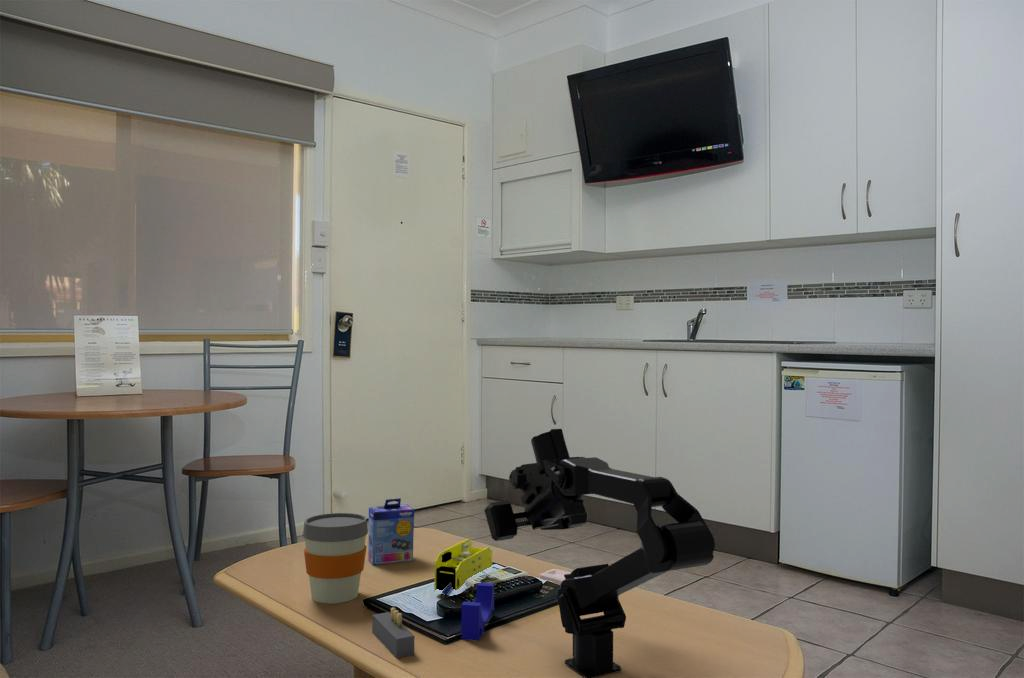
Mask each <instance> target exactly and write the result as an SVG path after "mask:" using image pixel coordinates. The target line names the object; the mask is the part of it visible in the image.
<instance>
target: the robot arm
mask: <svg viewBox="0 0 1024 678" xmlns="http://www.w3.org/2000/svg"><path fill="white" fill-rule="evenodd" d="M530 443H531V447H532V450H533V454H534V458H535V461H536V462H532V463H531V462H530V463H526V464H525V463H523V464H520V465H519V466H516V467H515V469H511V472H510V473H509V477H508V480H509V483H510V485H511V487H512V489H514V490H517V489H519V490H520V491H522V492H521V493H523V495H521V496H520V499H521V503H522V504H523V505H525V506H524V511H520V512H514V511H513V510H514V509H513V506H512V504H511V502H510V501H509V500H502V501H501V500H500V501H494V502H493V501H492V502H490V503H489V504H487V505H486V507H485V508H484V513H485V514H484V515H485V517H486V521H487V526H488V528H489V529H488V530H489V532H490V536H491V539H492V540H494V541H495V542H498V541H505V540H511V539H514V538H515V537H516V536H517V535H518V528H522V527H529V526H531V527H532V530H533V531H535V530H541V531H551V530H554V531H555V530H567V529H574V528H578V527H582V526H584V525H585V524H587V522H588V520H589V519H588V518H589V513H588V511H587V507H586V504H585V500H584V499H583V496H586V495H596V496H599V497H604V498H608V499H612V500H616V501H620V502H624V503H627V504H631V505H633V506H634V508H635V510H636V513H637V516H636V519H637V520H636V533H637V535H638V537H639V540H640V544H641V545H640V547H639V548H638V549H637V550H635V551H633V552H631V553H630V554H627V555H626V556H624V557H622V558H620V559H619V560H617V561H615V562H614V563H611V564H609V563H604V564H597V565H590V566H582V567H577V568H575V569H573V570H572V571H571V572H570V573H571V574H565V575H564V577H565V580H563V581H562V583H561V585H560V587H561V588H560V589H559V588H558V592H557V603H558V607H559V613H560V620H561V625H562V627H563V628H564V633H566V634H569V635H572V658H567V659H565V660H564V664H565V665H566V666H567V667H569V668H570V669H572V670H573V671H575V672H576V673H577V674H579V675H581V676H582V677H584V678H598V677H601V676H605V675H610V674H613V673H618V672H621V671H622V667H621V665H619V664H617V663H616V662H614V631H613V630H615V629H624V628H625V624H626V620H627V615H626V613H625V610H624V608H623V606H622V604H621V601H620V599H619V596H620V595H623V594H624V593H626V592H629V591H631V590H633V589H634V588H636V587H638V586H641V585H643V584H645V583H646V582H649V581H651V580H652V579H654V578H657V577H658V576H661V575H663V574H665V573H666V572H670V571H675V570H676V571H677V570H684V569H690V568H696V567H701V566H702V567H703V566H708V565H709V564H711V563H712V561H713V560H714V558H715V557H714V551H715V548H716V542H715V538H714V535H713V533H712V532H711V530H710V529H709V527H708V525H707V523H706V522H705V520H704V518H703V517H702V515H701V513H700V511H699V510H698V509H697V508H696V507H695V506H694V505H692V504H691V503H690V502H689V501H688V500H686V499H685V498H684V497H682V496H681V494H679V493H678V492H677V490H676V489H675V487H674V485H673V484H672V483H673V482H671V481H670V480H669V479H668V478H665V477H663V476H655V477H654V476H649V475H645V474H640V473H633V472H629V471H624V470H621V469H615V468H611V467H610V466H609V464H608V462H606V461H605V460H602V459H600V458H598V457H596V456H595V457H586V456H572V457H571V456H570V453H569V450H568V446H567V444H566V443H567V442H566V440H565V436H564V433H563V429H562V428H551V429H550V430H549V431H547V432H543V433H540V434H538V435H535V436H533V437H531V439H530ZM657 507H662V509H663V511H665V513H667V514H668V515H669V516H670V517H671V518H673V519H674V520H675V521H676V522H675V523H668V524H666V523H665V524H658V525H657V524H656V522H655V521H654V519H653V517H652V510H653V509H652V508H657ZM599 613H603V614H601V615H597V616H596V615H595V614H599ZM588 615H595V616H591V617H586V618H585V617H584V618H581V617H583V616H588Z"/></svg>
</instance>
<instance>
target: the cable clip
mask: <svg viewBox="0 0 1024 678" xmlns="http://www.w3.org/2000/svg"><path fill="white" fill-rule="evenodd" d="M475 586H476V589H475V590H476V592H475V598H474V599H475V601H476V602H477V603H476V602H468V601H463V602H462V603H461V628H460V629H461V634H460V635H462V636H461V637H462V638H461V637H460V638H461V640H466V641H479V642H480V640H481V637H482V636H483V634H484V633H485V631H484V626H485V623H486V621H487V620H488V618H489V617H490V615H491V614H492V611H493V610H494V611H495V583H489V582H481V583H477V584H476V585H475ZM483 632H484V633H483Z"/></svg>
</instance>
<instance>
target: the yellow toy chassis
mask: <svg viewBox="0 0 1024 678" xmlns="http://www.w3.org/2000/svg"><path fill="white" fill-rule="evenodd" d="M491 566H492V567H493V550H492V549H491V548H490V547H489V546H487V547H485V548H479V547H475V548H474V543H473V542H472V541H471V540H470V538H466V539H464V540H462V541H460V542H458V543H456V544H453V545H452V546H450V547H448V548H446V549H444V550H443V551H440V552H439V553H438V554H437V556H436V559H435V561H434V591H435V590H436V589H439V590H443V589H444V588H445V587H446V586H447V585H448V584H449V583H450V582H451V583H452V587H453V589H455V590H457V589H459V588H460V587H461V586H462V585H463V584H464V583H465V581H466V580H467V579H468V578H470V577H472V576H473V575H475V574H477V573H479V572H481V571H483V570H485V569H487V568H489V567H491Z"/></svg>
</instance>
